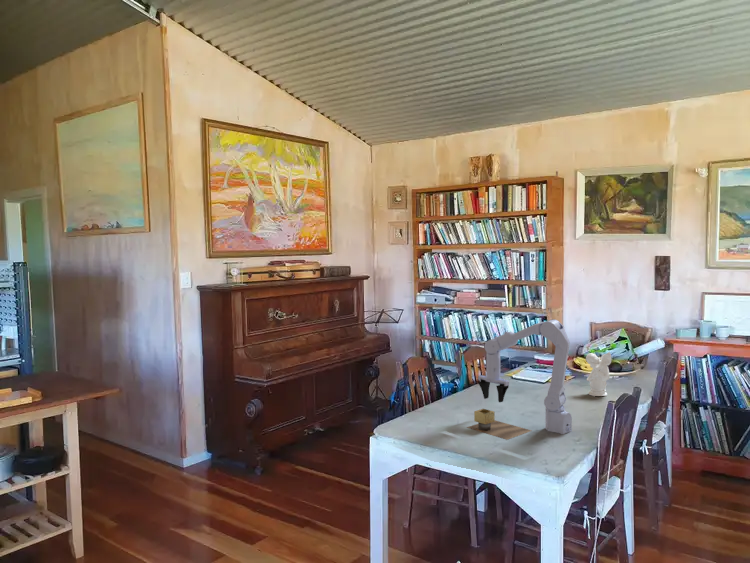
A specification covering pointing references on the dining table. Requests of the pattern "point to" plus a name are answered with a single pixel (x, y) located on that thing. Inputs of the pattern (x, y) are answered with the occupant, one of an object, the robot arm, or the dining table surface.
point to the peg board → (499, 429)
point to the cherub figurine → (598, 373)
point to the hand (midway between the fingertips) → (493, 400)
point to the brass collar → (484, 416)
